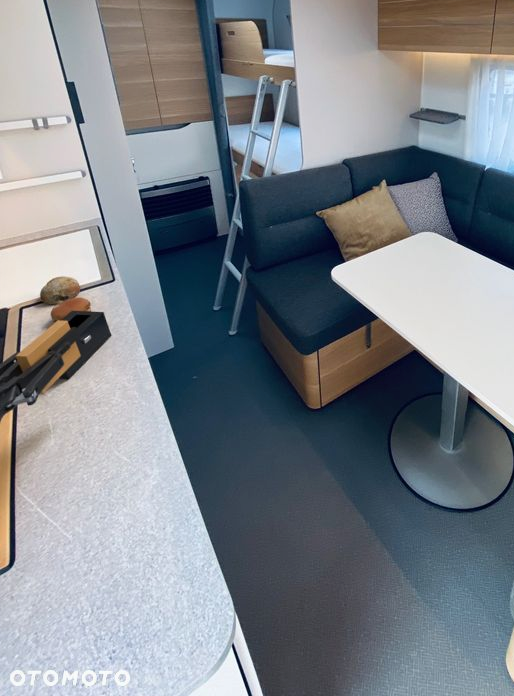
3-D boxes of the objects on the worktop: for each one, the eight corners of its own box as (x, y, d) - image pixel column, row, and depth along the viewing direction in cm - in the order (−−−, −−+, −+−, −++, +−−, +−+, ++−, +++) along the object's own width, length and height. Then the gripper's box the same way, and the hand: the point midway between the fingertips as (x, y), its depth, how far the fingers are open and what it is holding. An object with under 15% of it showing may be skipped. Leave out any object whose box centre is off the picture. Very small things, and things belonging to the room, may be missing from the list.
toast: (32, 393, 80) (15, 355, 76) (71, 355, 89) (57, 320, 85) (42, 394, 80) (26, 356, 76) (81, 355, 89) (67, 320, 85)
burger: (87, 323, 116) (83, 310, 114) (49, 332, 113) (43, 318, 112) (96, 303, 125) (91, 291, 123) (60, 311, 122) (55, 298, 120)
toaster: (34, 377, 98) (23, 351, 95) (80, 334, 112) (71, 310, 109) (71, 379, 98) (61, 353, 95) (113, 335, 112) (105, 311, 108)
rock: (48, 316, 125) (43, 301, 120) (37, 292, 129) (31, 277, 124) (86, 301, 132) (82, 286, 127) (74, 279, 136) (70, 264, 131)
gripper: (-76, 446, 67) (42, 343, 89) (9, 452, 66) (108, 347, 88) (-97, 413, 65) (30, 316, 86) (-9, 419, 63) (98, 319, 85)
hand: (69, 332), depth 87 cm, fingers closed on toast, 2 cm apart
